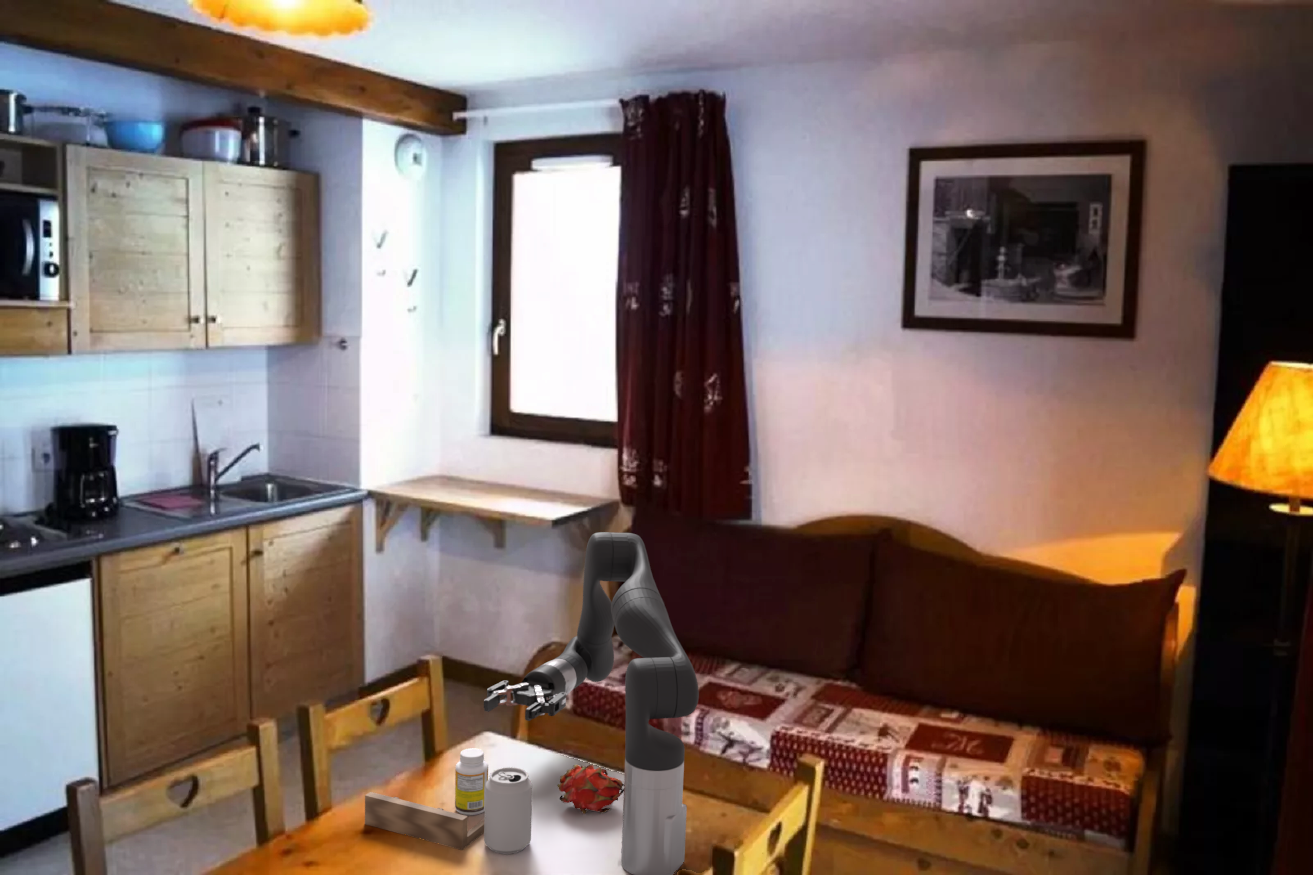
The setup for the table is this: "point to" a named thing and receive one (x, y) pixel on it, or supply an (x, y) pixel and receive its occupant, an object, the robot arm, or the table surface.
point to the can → (508, 810)
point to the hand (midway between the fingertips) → (506, 710)
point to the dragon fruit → (589, 788)
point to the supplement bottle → (470, 782)
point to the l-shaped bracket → (420, 821)
